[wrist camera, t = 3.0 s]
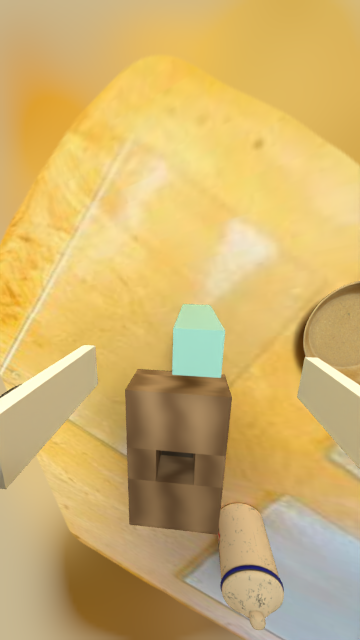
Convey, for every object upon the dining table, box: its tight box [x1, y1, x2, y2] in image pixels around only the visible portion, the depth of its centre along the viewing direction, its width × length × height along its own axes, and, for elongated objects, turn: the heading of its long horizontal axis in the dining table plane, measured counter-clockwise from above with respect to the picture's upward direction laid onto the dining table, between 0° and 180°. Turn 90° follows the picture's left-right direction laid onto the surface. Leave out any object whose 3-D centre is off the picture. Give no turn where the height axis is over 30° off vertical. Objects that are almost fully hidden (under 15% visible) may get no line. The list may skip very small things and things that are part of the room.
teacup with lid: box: [217, 503, 284, 630], centre depth 31 cm, size 12×9×12 cm
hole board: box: [125, 369, 232, 534], centre depth 31 cm, size 14×24×6 cm, turn 178°
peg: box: [172, 304, 225, 378], centre depth 22 cm, size 4×4×14 cm
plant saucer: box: [303, 281, 360, 385], centre depth 27 cm, size 15×15×3 cm
